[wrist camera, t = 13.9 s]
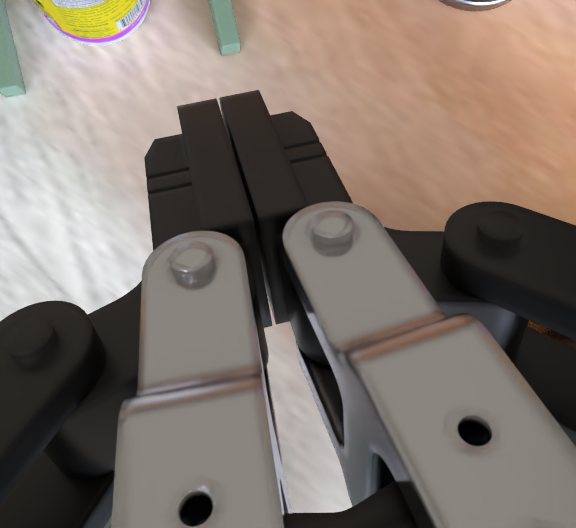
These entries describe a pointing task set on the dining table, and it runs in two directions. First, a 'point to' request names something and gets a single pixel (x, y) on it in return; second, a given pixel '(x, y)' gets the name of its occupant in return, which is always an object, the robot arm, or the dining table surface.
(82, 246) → the dining table surface
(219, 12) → the bay
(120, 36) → the supplement bottle
